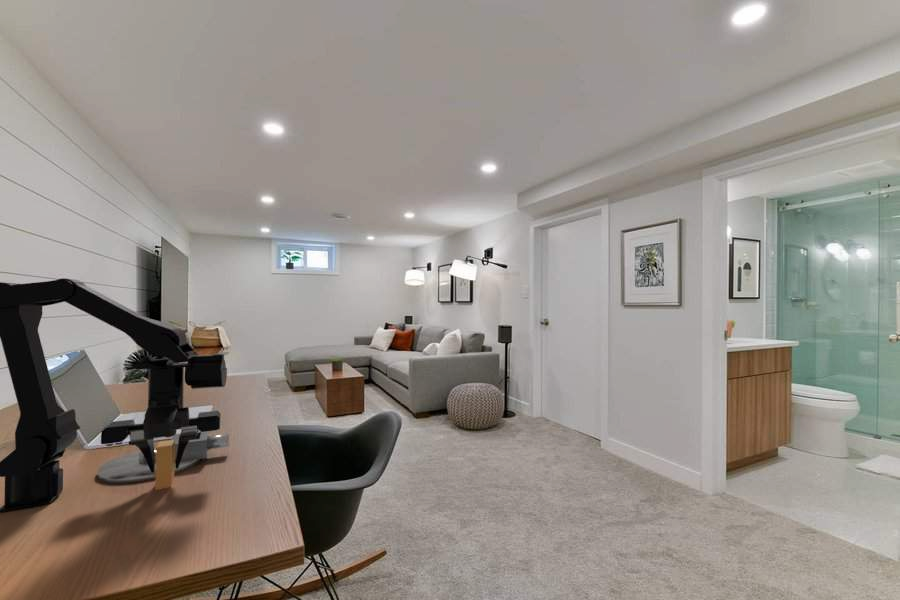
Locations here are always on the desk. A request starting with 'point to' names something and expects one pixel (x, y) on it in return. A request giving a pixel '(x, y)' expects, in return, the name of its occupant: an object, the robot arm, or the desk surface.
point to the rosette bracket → (137, 467)
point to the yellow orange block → (165, 464)
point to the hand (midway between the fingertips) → (165, 470)
